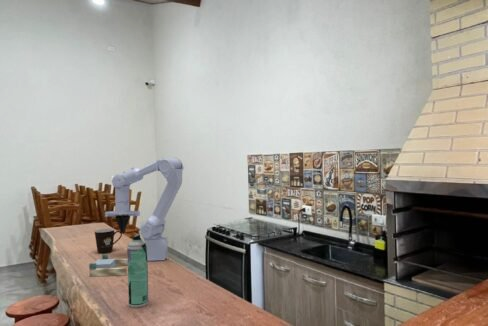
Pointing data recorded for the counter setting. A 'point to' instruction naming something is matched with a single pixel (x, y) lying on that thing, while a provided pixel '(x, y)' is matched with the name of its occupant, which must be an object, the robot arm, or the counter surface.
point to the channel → (109, 270)
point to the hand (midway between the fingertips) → (122, 232)
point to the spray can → (137, 272)
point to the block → (105, 263)
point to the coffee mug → (105, 240)
